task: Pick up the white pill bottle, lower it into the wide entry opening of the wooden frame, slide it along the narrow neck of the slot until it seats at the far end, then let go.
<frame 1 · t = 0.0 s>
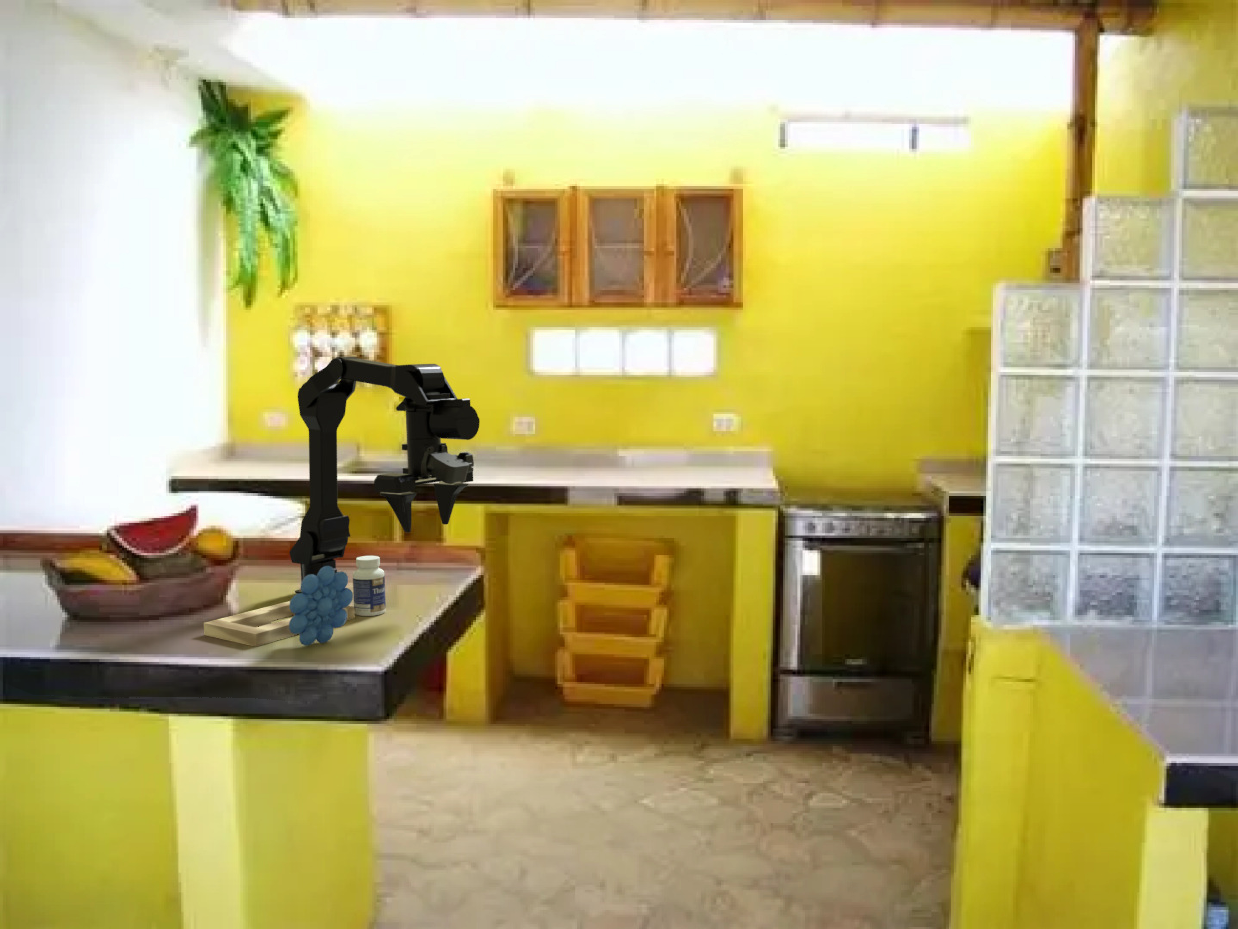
hand: (426, 528, 183), 15 cm above the countertop, tool pointing down, fingers open, 9 cm apart
wooden frame: (281, 626, 176), on the countertop
pill bottle: (370, 614, 184), on the countertop
blue ball flower: (319, 643, 166), on the countertop
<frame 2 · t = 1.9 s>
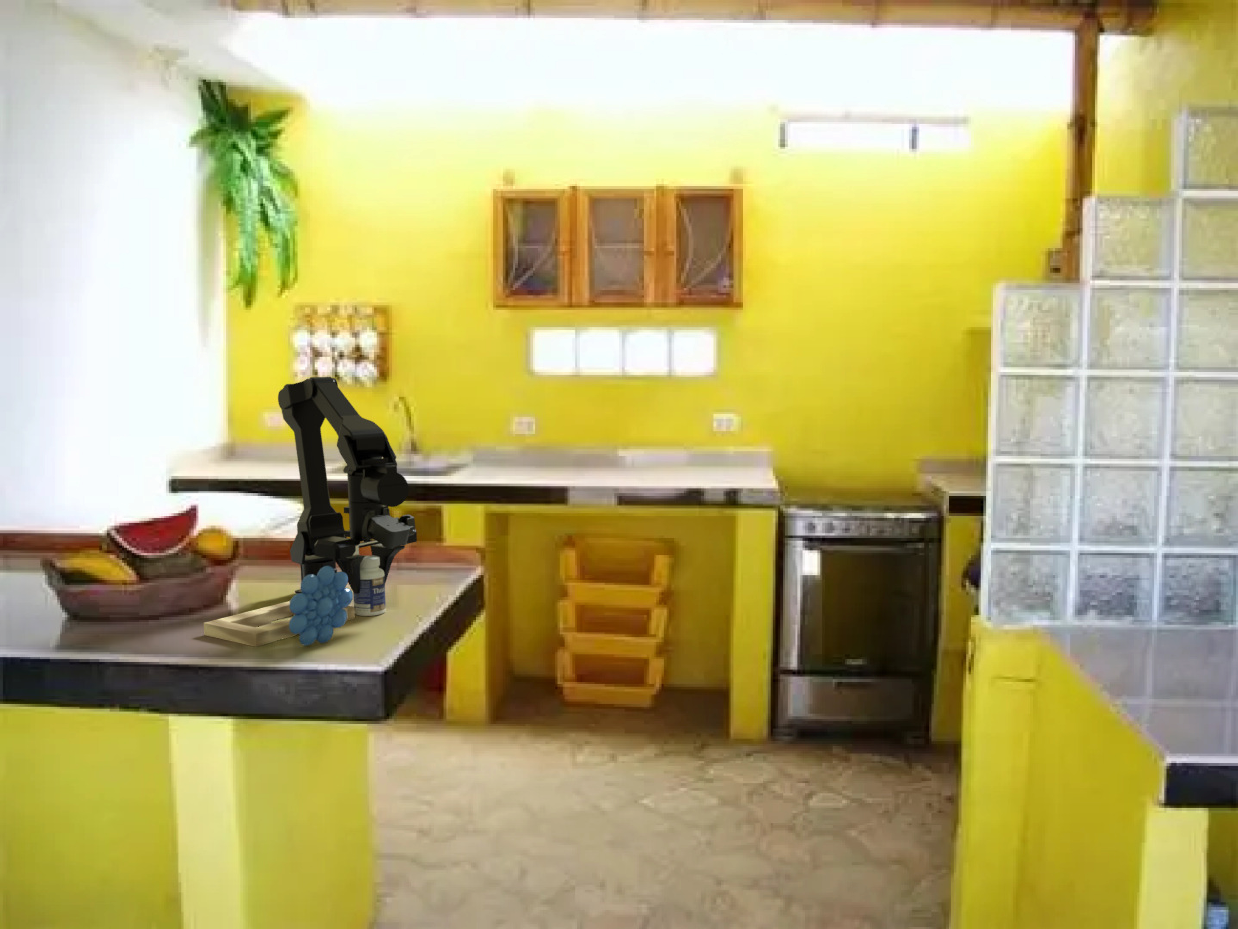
hand: (369, 590, 184), 4 cm above the countertop, tool pointing down, fingers closed on pill bottle, 5 cm apart
pill bottle: (370, 614, 184), on the countertop, touching gripper
everything else where it was.
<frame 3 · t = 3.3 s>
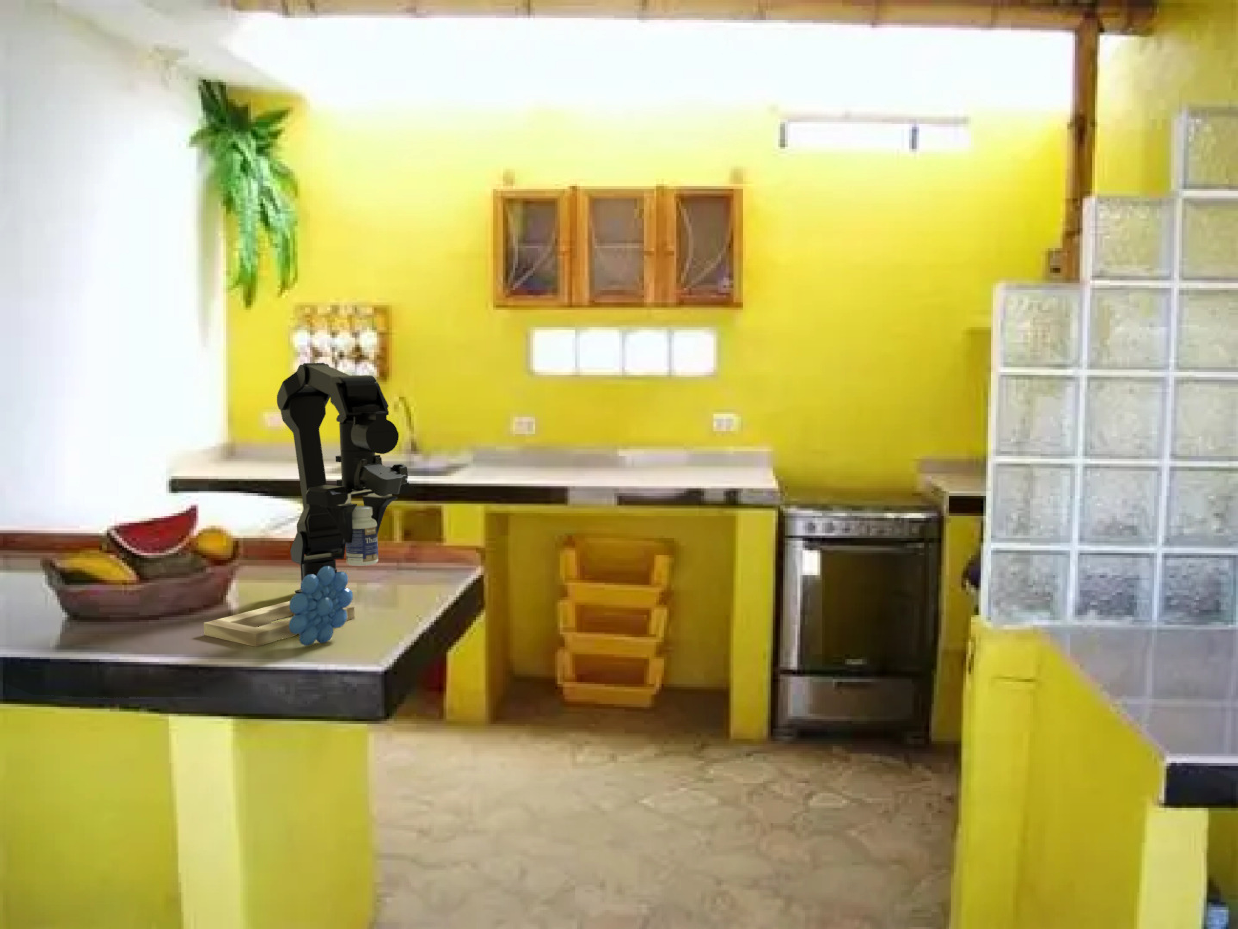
hand: (361, 540, 182), 13 cm above the countertop, tool pointing down, fingers closed on pill bottle, 5 cm apart
pill bottle: (362, 564, 183), point 9 cm above the countertop, touching gripper
everything else where it was.
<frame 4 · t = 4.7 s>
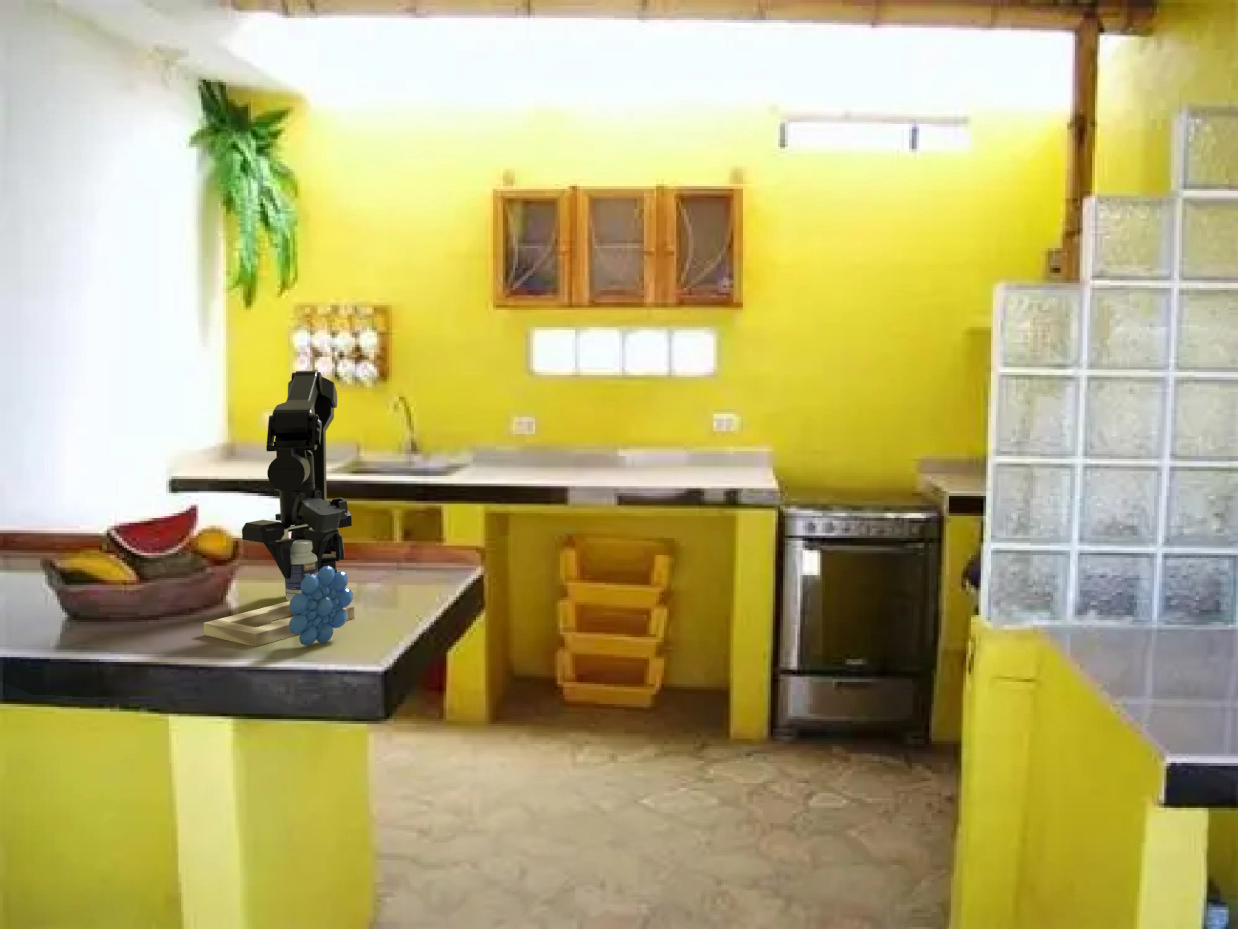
hand: (301, 575, 179), 8 cm above the countertop, tool pointing down, fingers closed on pill bottle, 5 cm apart
pill bottle: (302, 600, 179), point 3 cm above the countertop, touching gripper
everything else where it was.
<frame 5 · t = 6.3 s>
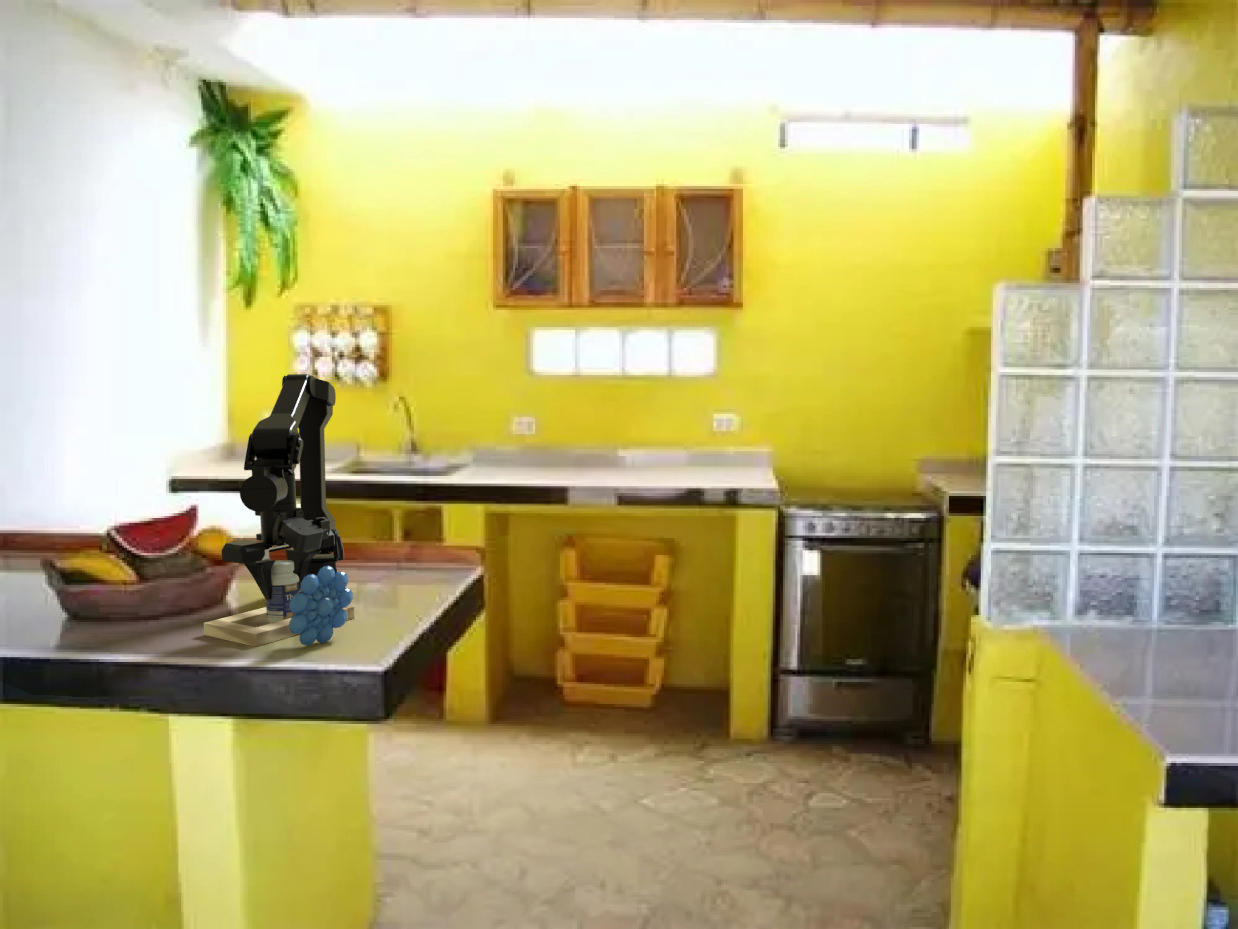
hand: (282, 596, 176), 5 cm above the countertop, tool pointing down, fingers closed on pill bottle, 5 cm apart
pill bottle: (284, 621, 176), point 1 cm above the countertop, touching gripper
everything else where it was.
when the fingers open (5 cm above the countertop, at t = 7.8 s): pill bottle stays where it is, resting in wooden frame.
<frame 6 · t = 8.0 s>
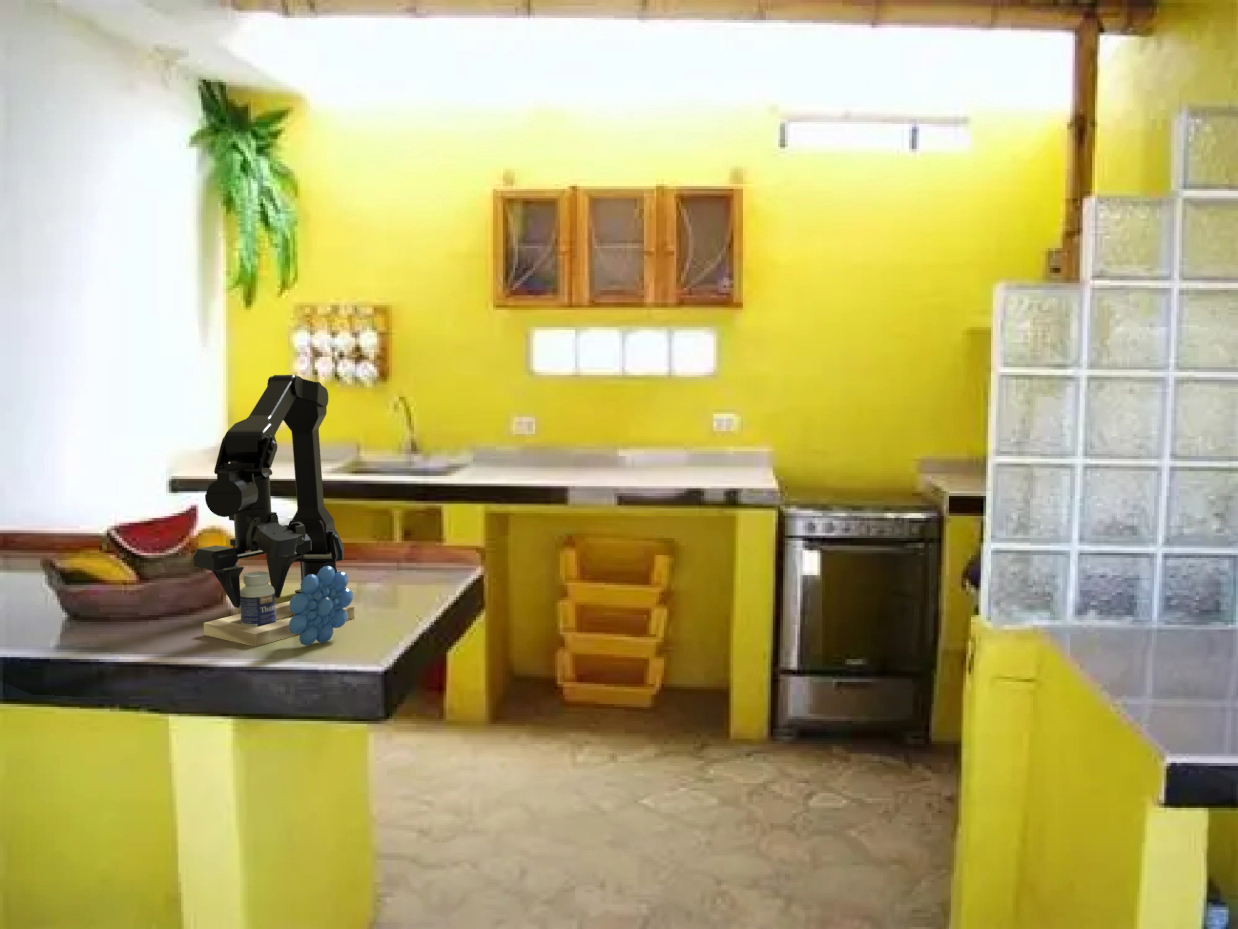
hand: (257, 602, 171), 5 cm above the countertop, tool pointing down, fingers open, 7 cm apart
pill bottle: (259, 634, 172), resting in wooden frame
everything else where it was.
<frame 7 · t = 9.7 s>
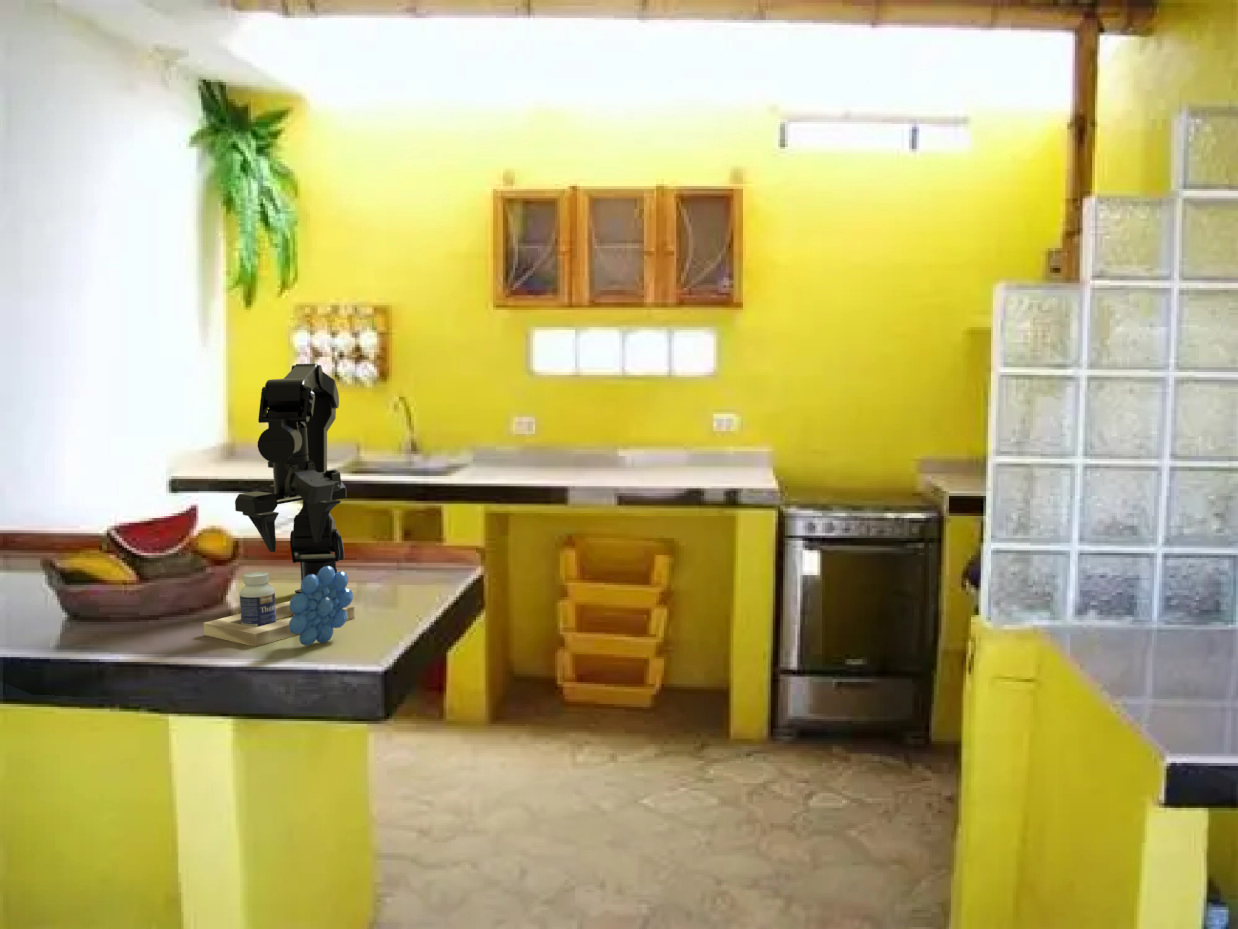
hand: (295, 546, 179), 12 cm above the countertop, tool pointing down, fingers open, 9 cm apart
nothing on the countertop moved.
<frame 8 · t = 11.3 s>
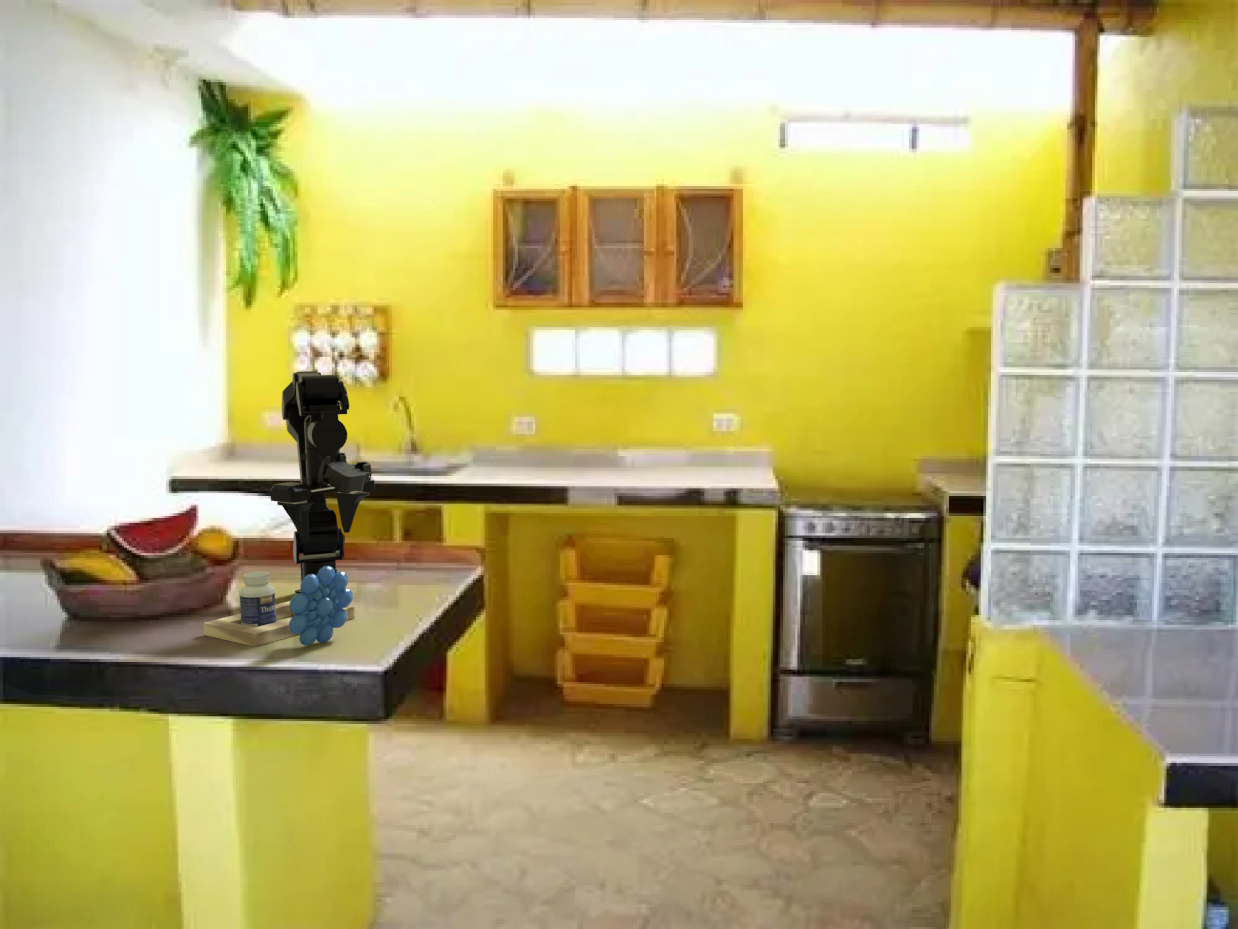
hand: (326, 536, 185), 13 cm above the countertop, tool pointing down, fingers open, 9 cm apart
nothing on the countertop moved.
at the end: pill bottle 0.8 cm from the target spot on the wooden frame, point 0.0 cm above the wooden frame's base; pill bottle tilted 0°; the gripper is holding nothing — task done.
